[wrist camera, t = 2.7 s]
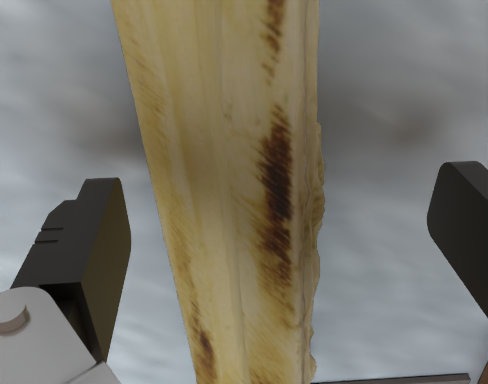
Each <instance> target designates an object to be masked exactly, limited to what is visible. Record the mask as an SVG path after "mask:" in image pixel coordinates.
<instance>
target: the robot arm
mask: <svg viewBox="0 0 488 384" xmlns="http://www.w3.org/2000/svg"><path fill="white" fill-rule="evenodd" d="M427 226H428V230H429V233H430V236H431V237H432V239H433V240H434V242H435V243H436V245H437V246H438V247H439V249H440V250H441V252H442V253H443V255H444V256H445V257H446V259H447V260H448V262H449V263H450V265H451V266H452V268H453V269H454V270H455V272H456V273H457V275H458V276H459V278H460V279H461V280H462V282H463V283H464V285H465V286H466V288H467V289H468V290H469V292H470V293H471V295H472V296H473V298H474V299H475V301H476V302H477V303H478V305H479V306H480V308H481V309H482V311H483V312H484V313H485V315H486V316H487V318H488V170H487V169H486V168H485V167H484V166H483V165H482V164H481V163H479V162H477V161H464V162H446V163H444V164H443V165H442V166H441V167H440V169H439V172H438V176H437V180H436V183H435V187H434V191H433V195H432V198H431V202H430V206H429V209H428V214H427ZM130 252H131V231H130V225H129V220H128V215H127V210H126V205H125V200H124V195H123V189H122V185H121V182H120V179H119V178H97V179H86V180H85V182H84V184H83V186H82V188H81V190H80V193H79V195H78V197H77V199H76V200H65V201H63V202H62V203H61V204H60V205H59V206H58V207H56V208H55V209H54V210H53V211H52V212H50V213H49V215H48V216H47V218H46V220H45V222H44V224H43V226H42V228H41V232H39V234H38V236H37V238H36V240H35V244H33V245H32V247H31V249H30V251H29V253H28V255H27V257H26V259H25V261H24V263H23V265H22V267H21V268H20V270H19V272H18V274H17V276H16V278H15V280H14V282H13V284H12V286H11V288H10V290H6V291H4V292H1V293H0V384H121V383H120V381H119V380H118V379H117V377H116V376H115V374H114V373H113V372H112V370H111V369H110V367H109V366H108V365H107V364H106V362H107V357H108V353H109V348H110V344H111V339H112V334H113V330H114V325H115V321H116V316H117V312H118V307H119V303H120V298H121V294H122V289H123V284H124V280H125V275H126V271H127V266H128V262H129V257H130Z"/></svg>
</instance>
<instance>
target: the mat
mask: <svg viewBox="0 0 488 384" xmlns="http://www.w3.org/2000/svg"><path fill="white" fill-rule="evenodd" d="M470 381H471V379H470V377H469V375H468V374H461V375H446V376H430V377H414V378H399V379H383V380H368V381H352V382H336V383H321V384H469V383H470Z"/></svg>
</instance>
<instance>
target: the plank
mask: <svg viewBox="0 0 488 384" xmlns="http://www.w3.org/2000/svg"><path fill="white" fill-rule="evenodd" d="M319 1H320V0H111V5H112V9H113V13H114V17H115V21H116V25H117V29H118V33H119V37H120V42H121V46H122V51H123V55H124V60H125V64H126V69H127V73H128V78H129V82H130V86H131V90H132V94H133V98H134V103H135V108H136V112H137V117H138V122H139V127H140V132H141V137H142V142H143V146H144V151H145V155H146V159H147V164H148V168H149V172H150V177H151V182H152V186H153V190H154V195H155V199H156V204H157V208H158V213H159V217H160V221H161V226H162V231H163V238H164V241H165V244H166V246H167V252H168V257H169V261H170V265H171V268H172V272H173V276H174V282H175V285H176V289H177V296H178V300H179V304H180V307H181V311H182V317H183V321H184V325H185V329H186V333H187V339H188V341H189V346H190V351H191V357H192V361H193V366H194V370H195V374H196V381H197V384H310V382H311V380H312V379H313V378H314V375H315V372H316V368H317V367H316V362H315V360H314V358H313V357H312V355H311V354H310V340H311V337H312V335H313V333H314V332H313V329H312V327H311V323H310V322H311V316H312V309H313V302H314V301H313V297H314V294H315V291H316V287H317V284H318V280H319V277H320V257H319V254H318V251H317V235H318V232H319V230H320V228H321V226H322V217H323V213H324V211H325V209H324V203H325V198H324V193H323V189H322V186H323V184H324V168H325V164H324V161H323V158H322V154H321V138H322V134H321V124H320V123H318V122H317V55H318V42H319Z"/></svg>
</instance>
